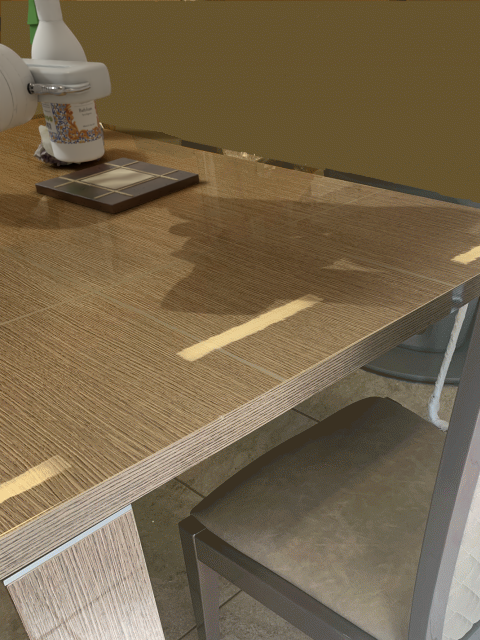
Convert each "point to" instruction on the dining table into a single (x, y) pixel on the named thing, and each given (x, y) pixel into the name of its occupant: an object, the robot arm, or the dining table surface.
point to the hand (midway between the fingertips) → (65, 68)
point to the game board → (117, 184)
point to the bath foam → (66, 119)
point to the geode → (46, 149)
